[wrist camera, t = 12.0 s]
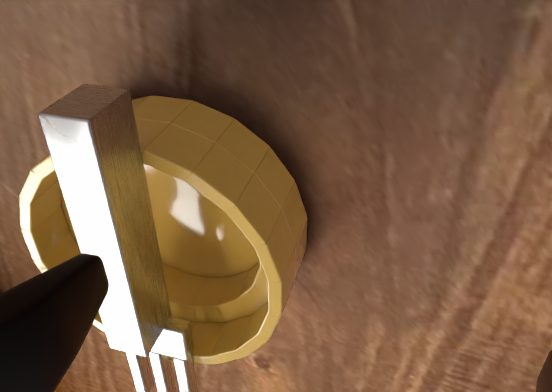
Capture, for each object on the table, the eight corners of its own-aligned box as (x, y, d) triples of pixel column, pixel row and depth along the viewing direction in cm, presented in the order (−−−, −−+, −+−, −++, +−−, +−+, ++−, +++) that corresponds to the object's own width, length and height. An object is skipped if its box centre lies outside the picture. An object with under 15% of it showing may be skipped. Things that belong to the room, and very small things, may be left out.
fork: (59, 79, 17) (11, 109, 15) (155, 91, 16) (115, 124, 14) (140, 380, 27) (117, 420, 25) (202, 397, 26) (183, 440, 24)
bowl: (315, 108, 20) (282, 171, 17) (306, 311, 28) (281, 389, 24) (59, 77, 23) (-21, 125, 19) (110, 268, 30) (59, 332, 26)
